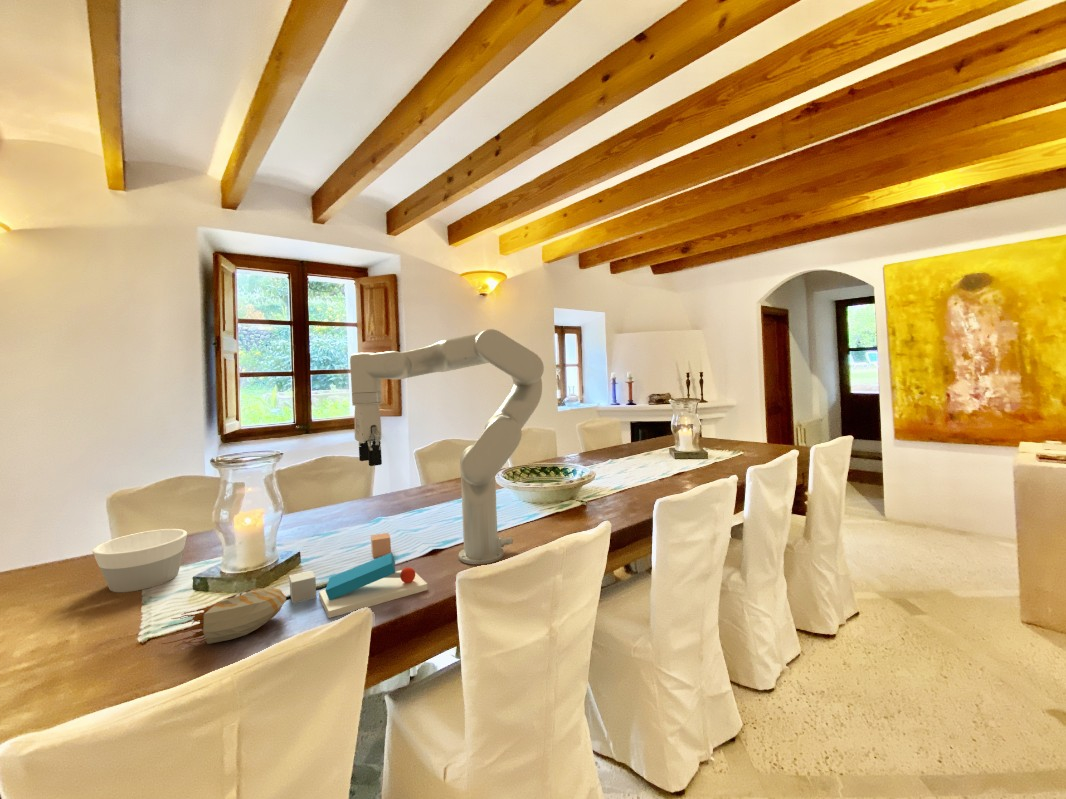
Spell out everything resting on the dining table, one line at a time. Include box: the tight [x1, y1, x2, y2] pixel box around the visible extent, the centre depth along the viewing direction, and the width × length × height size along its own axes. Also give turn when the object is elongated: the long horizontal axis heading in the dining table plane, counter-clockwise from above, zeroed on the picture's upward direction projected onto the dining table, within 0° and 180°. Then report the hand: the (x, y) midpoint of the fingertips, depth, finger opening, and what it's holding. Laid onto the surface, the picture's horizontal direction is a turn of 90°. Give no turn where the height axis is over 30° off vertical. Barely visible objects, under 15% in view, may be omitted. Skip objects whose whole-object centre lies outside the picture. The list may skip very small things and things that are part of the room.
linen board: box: [318, 569, 428, 619], centre depth 113 cm, size 22×12×2 cm, turn 123°
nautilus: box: [160, 587, 287, 649], centre depth 97 cm, size 8×22×15 cm
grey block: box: [288, 569, 317, 604], centre depth 112 cm, size 5×5×5 cm
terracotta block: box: [370, 532, 392, 558], centre depth 139 cm, size 5×5×5 cm
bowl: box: [91, 528, 188, 593], centre depth 125 cm, size 19×19×11 cm
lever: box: [324, 552, 416, 600], centre depth 113 cm, size 7×7×19 cm
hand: (370, 462), depth 128 cm, fingers open, 9 cm apart
